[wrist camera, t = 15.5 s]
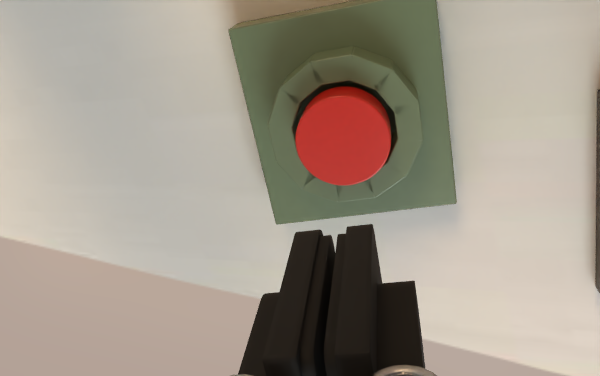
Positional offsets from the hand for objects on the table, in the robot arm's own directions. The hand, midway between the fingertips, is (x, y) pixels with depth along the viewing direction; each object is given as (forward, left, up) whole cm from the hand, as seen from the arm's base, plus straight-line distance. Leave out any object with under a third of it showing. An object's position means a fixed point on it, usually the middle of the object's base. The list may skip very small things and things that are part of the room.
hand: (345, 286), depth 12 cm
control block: (+2, -1, -19) cm, 19 cm away
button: (+2, -1, -16) cm, 16 cm away
